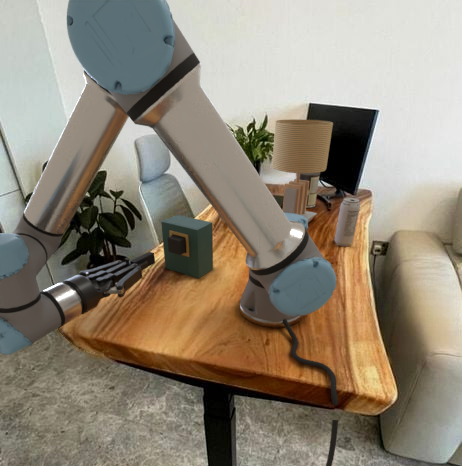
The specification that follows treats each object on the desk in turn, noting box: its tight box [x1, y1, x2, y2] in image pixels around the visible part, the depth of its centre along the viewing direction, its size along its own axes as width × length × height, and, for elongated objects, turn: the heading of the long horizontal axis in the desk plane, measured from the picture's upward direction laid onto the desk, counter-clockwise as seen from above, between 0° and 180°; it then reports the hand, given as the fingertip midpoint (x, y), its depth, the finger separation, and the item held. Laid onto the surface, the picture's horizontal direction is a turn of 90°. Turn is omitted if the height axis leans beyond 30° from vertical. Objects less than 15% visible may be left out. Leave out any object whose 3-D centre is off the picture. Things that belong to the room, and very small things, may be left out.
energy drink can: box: [334, 197, 361, 247], centre depth 116 cm, size 6×6×15 cm
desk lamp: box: [271, 119, 334, 223], centre depth 130 cm, size 20×20×35 cm
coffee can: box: [295, 172, 321, 209], centre depth 156 cm, size 10×10×14 cm
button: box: [167, 235, 186, 255], centre depth 95 cm, size 5×4×4 cm
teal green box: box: [160, 214, 214, 279], centre depth 98 cm, size 7×12×14 cm, turn 59°
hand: (152, 257), depth 87 cm, fingers closed
